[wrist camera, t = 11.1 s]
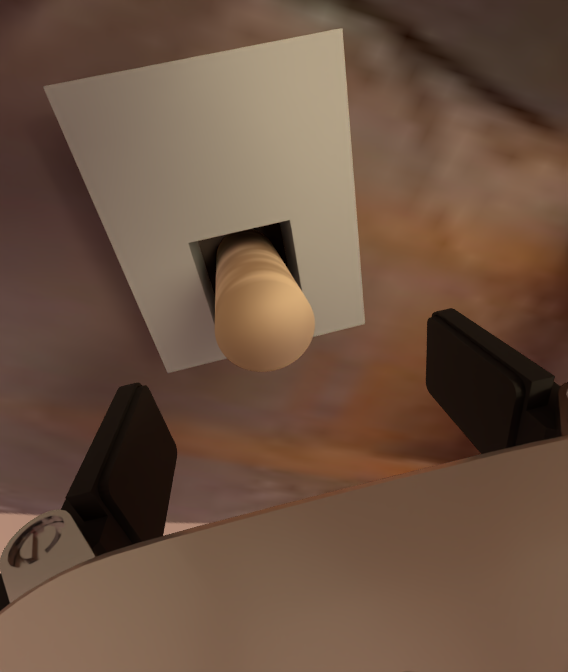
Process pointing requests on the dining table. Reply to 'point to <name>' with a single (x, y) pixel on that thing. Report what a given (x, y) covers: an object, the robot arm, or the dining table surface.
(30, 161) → the dining table surface
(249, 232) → the peg
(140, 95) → the socket block
